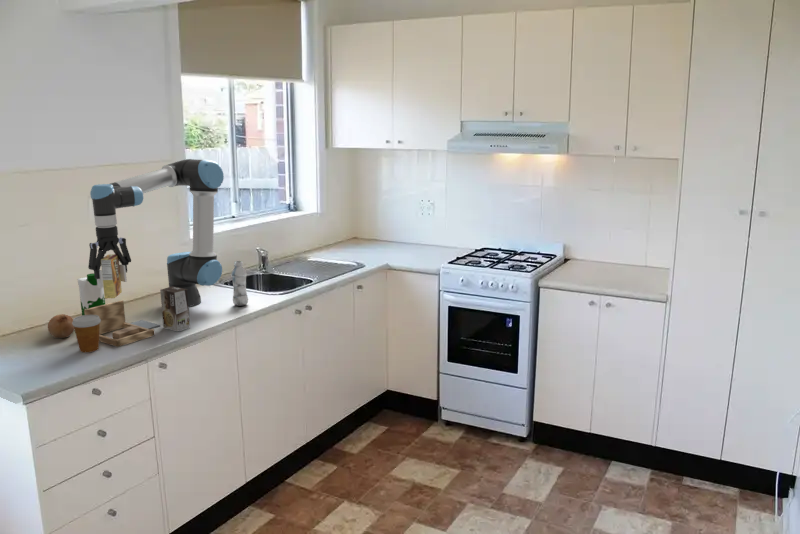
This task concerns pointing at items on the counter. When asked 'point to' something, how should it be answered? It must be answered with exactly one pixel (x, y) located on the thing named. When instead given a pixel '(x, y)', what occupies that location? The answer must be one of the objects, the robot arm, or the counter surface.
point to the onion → (61, 326)
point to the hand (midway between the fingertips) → (112, 284)
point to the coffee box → (175, 308)
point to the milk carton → (90, 293)
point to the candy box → (111, 276)
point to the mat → (146, 324)
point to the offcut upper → (125, 332)
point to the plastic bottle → (239, 284)
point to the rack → (116, 323)
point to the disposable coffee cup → (87, 332)
